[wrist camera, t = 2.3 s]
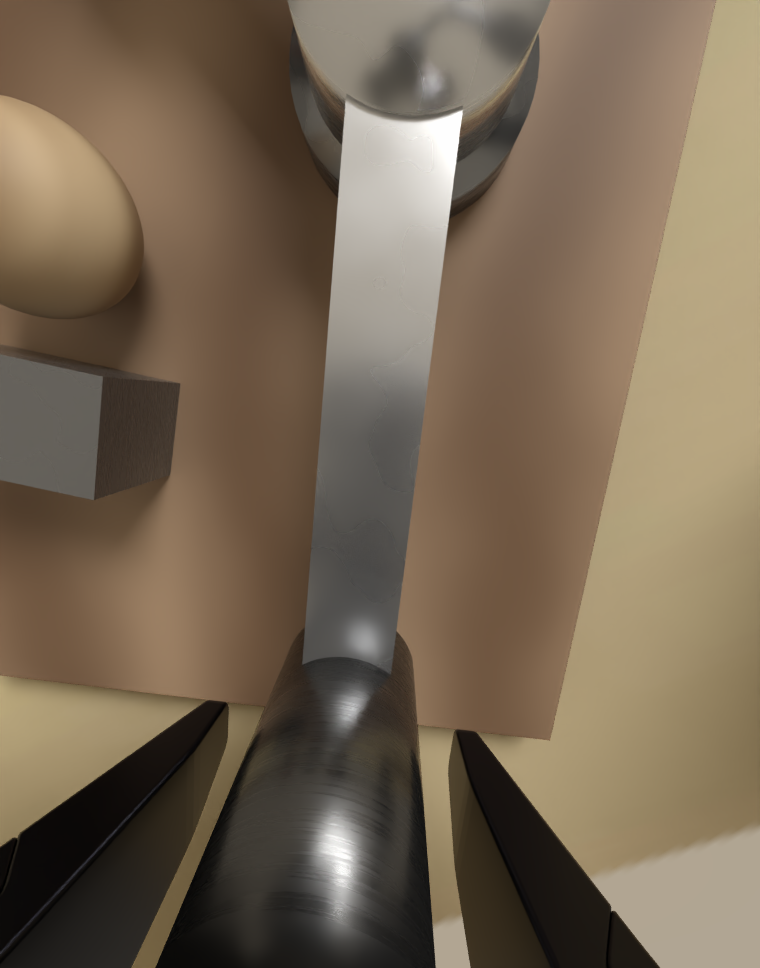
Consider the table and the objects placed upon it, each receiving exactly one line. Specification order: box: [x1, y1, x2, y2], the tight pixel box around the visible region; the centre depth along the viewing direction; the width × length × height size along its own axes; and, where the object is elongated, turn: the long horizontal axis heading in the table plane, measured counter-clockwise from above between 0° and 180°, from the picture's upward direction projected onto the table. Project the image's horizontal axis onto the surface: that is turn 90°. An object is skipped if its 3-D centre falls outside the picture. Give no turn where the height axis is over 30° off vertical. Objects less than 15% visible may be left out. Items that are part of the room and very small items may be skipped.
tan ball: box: [0, 95, 144, 319], centre depth 8 cm, size 4×4×4 cm
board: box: [0, 0, 716, 740], centre depth 10 cm, size 17×25×1 cm
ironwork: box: [0, 25, 540, 500], centre depth 8 cm, size 15×5×3 cm, turn 129°
